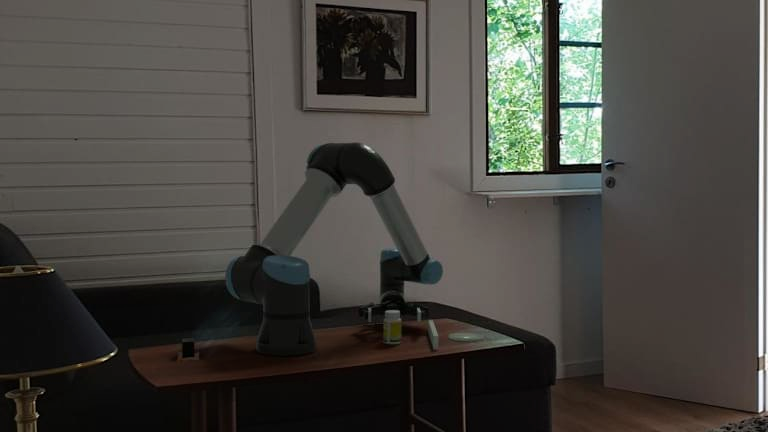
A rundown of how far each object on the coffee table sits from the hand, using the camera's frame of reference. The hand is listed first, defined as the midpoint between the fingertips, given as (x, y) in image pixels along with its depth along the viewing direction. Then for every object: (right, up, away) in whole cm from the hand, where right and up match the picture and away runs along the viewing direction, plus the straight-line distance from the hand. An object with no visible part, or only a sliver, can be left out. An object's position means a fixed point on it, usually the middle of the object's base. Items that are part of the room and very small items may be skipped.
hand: (394, 317), depth 216 cm
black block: (-51, -7, -22) cm, 56 cm away
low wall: (+10, -6, -3) cm, 12 cm away
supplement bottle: (-1, -6, -6) cm, 8 cm away
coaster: (+19, -6, +1) cm, 20 cm away
